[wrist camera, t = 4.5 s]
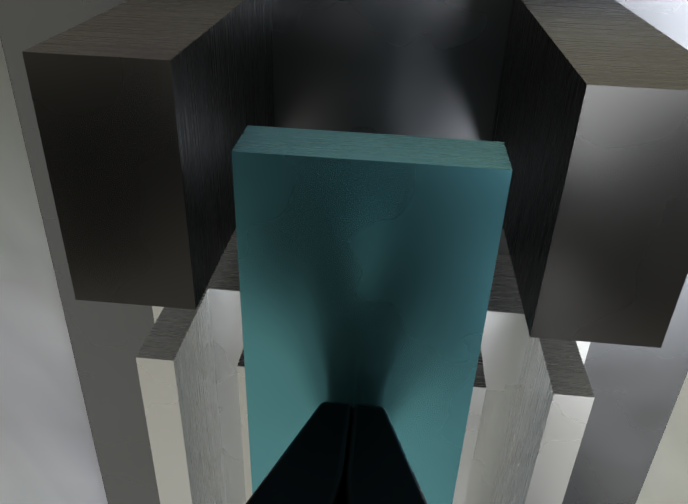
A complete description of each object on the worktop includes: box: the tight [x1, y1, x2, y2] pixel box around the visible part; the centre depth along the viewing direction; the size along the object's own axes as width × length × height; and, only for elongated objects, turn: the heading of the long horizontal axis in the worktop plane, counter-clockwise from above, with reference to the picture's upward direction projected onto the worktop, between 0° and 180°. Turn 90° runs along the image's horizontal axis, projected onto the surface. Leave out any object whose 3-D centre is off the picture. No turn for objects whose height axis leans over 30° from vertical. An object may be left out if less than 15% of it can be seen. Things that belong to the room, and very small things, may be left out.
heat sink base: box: [0, 0, 688, 504], centre depth 14 cm, size 18×14×7 cm
